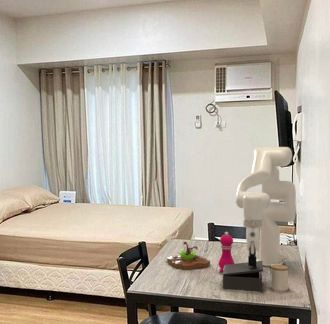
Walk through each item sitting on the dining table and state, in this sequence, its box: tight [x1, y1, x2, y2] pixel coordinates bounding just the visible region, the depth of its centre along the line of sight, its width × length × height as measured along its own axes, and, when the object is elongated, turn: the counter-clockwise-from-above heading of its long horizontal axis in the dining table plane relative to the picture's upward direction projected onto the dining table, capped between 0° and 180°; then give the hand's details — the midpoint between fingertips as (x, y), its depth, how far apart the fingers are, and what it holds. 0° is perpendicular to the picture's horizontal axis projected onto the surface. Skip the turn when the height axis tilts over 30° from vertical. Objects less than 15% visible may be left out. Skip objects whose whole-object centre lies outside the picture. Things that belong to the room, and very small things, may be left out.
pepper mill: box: [218, 231, 235, 274], centre depth 228 cm, size 7×7×20 cm
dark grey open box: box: [222, 272, 263, 293], centre depth 208 cm, size 16×15×6 cm
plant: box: [166, 241, 211, 271], centre depth 246 cm, size 20×20×11 cm
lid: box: [222, 261, 264, 277], centre depth 208 cm, size 16×15×1 cm
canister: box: [270, 264, 289, 292], centre depth 203 cm, size 7×7×10 cm
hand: (252, 265), depth 207 cm, fingers closed
